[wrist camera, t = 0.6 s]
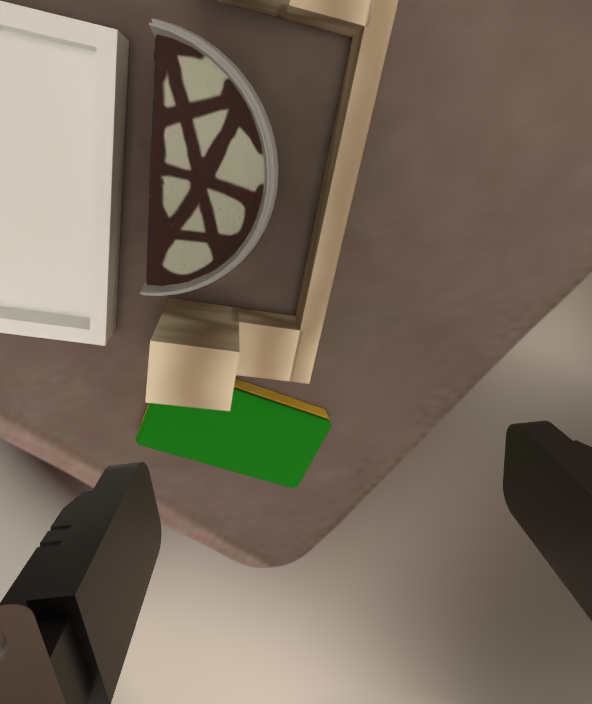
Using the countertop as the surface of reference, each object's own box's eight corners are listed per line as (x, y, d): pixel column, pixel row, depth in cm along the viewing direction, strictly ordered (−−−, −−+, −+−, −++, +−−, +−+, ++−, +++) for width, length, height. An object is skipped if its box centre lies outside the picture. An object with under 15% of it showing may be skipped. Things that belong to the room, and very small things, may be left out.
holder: (164, 348, 34) (145, 402, 27) (205, -95, 25) (192, -195, 17) (303, 365, 37) (320, 420, 29) (393, -37, 27) (453, -105, 19)
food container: (255, 270, 33) (262, 318, 24) (166, 258, 32) (139, 304, 23) (281, 73, 28) (303, 40, 19) (178, 51, 27) (149, 5, 18)
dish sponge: (292, 471, 41) (296, 490, 39) (139, 426, 37) (133, 444, 35) (327, 407, 39) (333, 423, 37) (168, 352, 35) (163, 366, 33)
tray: (-70, 304, 31) (-99, 320, 28) (-108, -17, 24) (-151, -37, 22) (115, 329, 33) (105, 345, 31) (129, 41, 27) (117, 29, 24)
